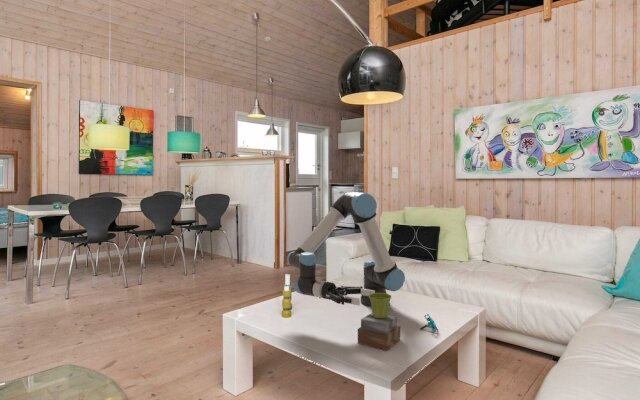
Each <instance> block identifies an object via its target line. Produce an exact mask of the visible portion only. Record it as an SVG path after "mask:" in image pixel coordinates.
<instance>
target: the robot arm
mask: <svg viewBox="0 0 640 400" xmlns="http://www.w3.org/2000/svg"><path fill="white" fill-rule="evenodd" d="M377 208H378V204H377V201H376V199H375V197H374V196H373V195H371V194H370V193H367V192H365V191H364V192H363V191H361V192H357V191H348V192H346V193H343V194H342V195H341V196H339V197H338V199H336V200H335V202H333V204H332V205H331V206H330V207H329V211H328V213H326V215H325V216H324V217H323V219H321V220H320V222H318V224H317V225H316V227H315V228H314V229H313V230H312V231H311V233H309V235H307V237H306V238H305V239H304V241H303V242H302V243H300V245H299V246H298V247H297V249H296V250H295V251H291V252H289V253H288V255H287V257H286V261H287V264H288V265H290V267H291V268H294V269H296V270H298V271H299V277H297V278H296V279H295V281H294V282H295V283H294V284H293V286H294V287H293V288H294V290H295V292H296V293H297V294H301V295H303V296H310V297H316V298H318V299H325V300H329V301H333V302H334V303H336V304H338V305H339V304H341V305H345V304H350V305H356V306H360V303H361V304H362V305H365V306H369V307H371V301H370V298H369V295H370V294H373V293H385V294H388V291H390V292H397V291H399V290H400V289H401V288H402V287H403V286H404V284H405V280H406V275H405V273H404V271H403V270H402V269H400V268H399V267H398V265H397V263H396V261H395V260H394V259H393V258H391V256H390V253H389V250H388V248H387V245H386V243H385V240H384V238H383V235H382V233H381V231H380V227H379V226H378V223H377V221H376V216H377V213H376V212H377ZM349 216H351V218H352V220H353V222H354V224H355V225H358V226H359V229H360V232H361V234H362V236H363V238H364V241H365V244H366V247H367V248H368V251H369V253H370V257H372V259H370V260H369V259H368V260H366V261H364V263H363V286H362V285H361V286H354V285H353V286H349V285H341V286H336V284H335V283H334V282H330V281H325V280H319V279H317V277H316V276H317V275H316V273H317V271H316V270H317V268H316V267H317V265H316V264H317V260H316V254H315V252H316V251H317V250H318V248H319V247H320V246H321V245H322V243H324V241H325V240H326V239H327V238H328V236H329V235H330V234H331V233H332V232H333V231H334V229H335V228H336V227H337V226H338V225H339V223H340V222H341V221H345V219H346V218H347V217H349ZM349 295H360V297H353V296H349Z"/></svg>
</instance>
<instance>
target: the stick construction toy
mask: <svg viewBox="0 0 640 400" xmlns="http://www.w3.org/2000/svg"><path fill="white" fill-rule="evenodd" d="M427 316H428V317H427ZM423 317H424V318H425V319H426V322H427V323H426V324H425V325H423V326H422V327H420V328H419V329H420V330H424V329H425V328H427V327H430V328H431V329H432V331H433V333H435V332H436V330H437V331H439V329H438V327H437V325H436V323H435V320H434V319H433V318H432V317H431V316H430V315H429V313H426V314H425V315H424V316H423ZM433 328H434V329H433ZM435 329H436V330H435Z"/></svg>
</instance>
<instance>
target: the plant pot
mask: <svg viewBox="0 0 640 400" xmlns="http://www.w3.org/2000/svg"><path fill="white" fill-rule="evenodd" d="M369 298H370V301H371V306H370V307H371V313H372V314H373V317H375V318H381V319H383V318H386V317H387V316H388V315H389V307H390V301H391V299H392V295H391V294H389V293H387V294H385V293H373V294H370V295H369Z"/></svg>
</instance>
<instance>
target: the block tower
mask: <svg viewBox="0 0 640 400" xmlns="http://www.w3.org/2000/svg"><path fill="white" fill-rule="evenodd" d="M400 341H401V325H398V316H395V315H391V314H388V316H387V317H386V318H383V319H381V318H375V317H373V314H372V312H371V313H369V314H367V315H366V316H364V317H362V318H361V319H360V327H358V328H357V344H359V345H362V346H365V347H370V348H374V349H378V350H380V351H381V350H382V351H384V352H387V351H389V350H390V349H391V348H392V347H393V346H395V345H396V344H397V343H398V342H400Z"/></svg>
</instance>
